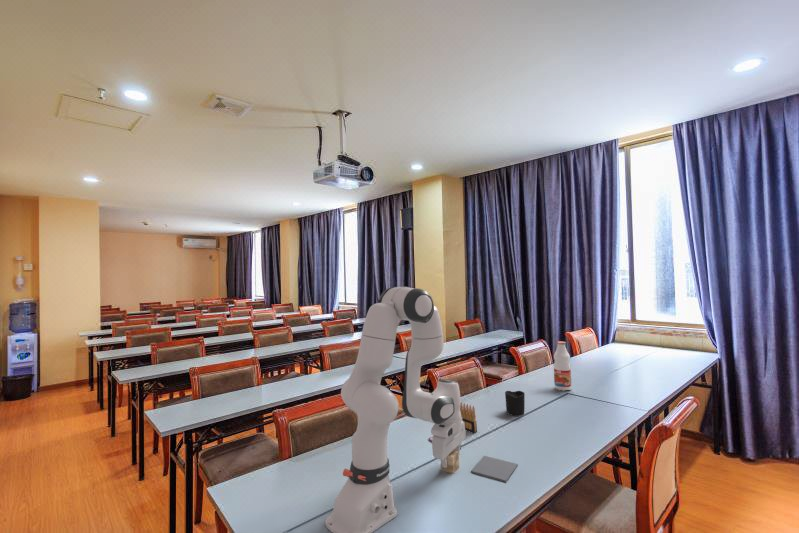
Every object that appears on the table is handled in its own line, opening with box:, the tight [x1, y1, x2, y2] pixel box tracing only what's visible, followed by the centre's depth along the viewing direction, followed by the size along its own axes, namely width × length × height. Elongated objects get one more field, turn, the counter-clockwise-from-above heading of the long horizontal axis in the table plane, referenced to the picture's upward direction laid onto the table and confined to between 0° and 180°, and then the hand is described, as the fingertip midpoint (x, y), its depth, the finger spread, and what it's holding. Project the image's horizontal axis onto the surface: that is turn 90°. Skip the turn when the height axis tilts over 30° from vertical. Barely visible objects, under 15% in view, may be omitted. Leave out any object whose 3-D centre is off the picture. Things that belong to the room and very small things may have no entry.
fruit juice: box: [553, 340, 573, 391], centre depth 229 cm, size 9×9×28 cm
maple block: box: [440, 450, 460, 475], centre depth 141 cm, size 5×5×6 cm
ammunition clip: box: [460, 401, 478, 434], centre depth 175 cm, size 11×2×12 cm, turn 41°
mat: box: [470, 455, 519, 483], centre depth 140 cm, size 13×13×1 cm
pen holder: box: [504, 390, 526, 416], centre depth 194 cm, size 9×9×10 cm
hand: (451, 460), depth 141 cm, fingers open, 8 cm apart
